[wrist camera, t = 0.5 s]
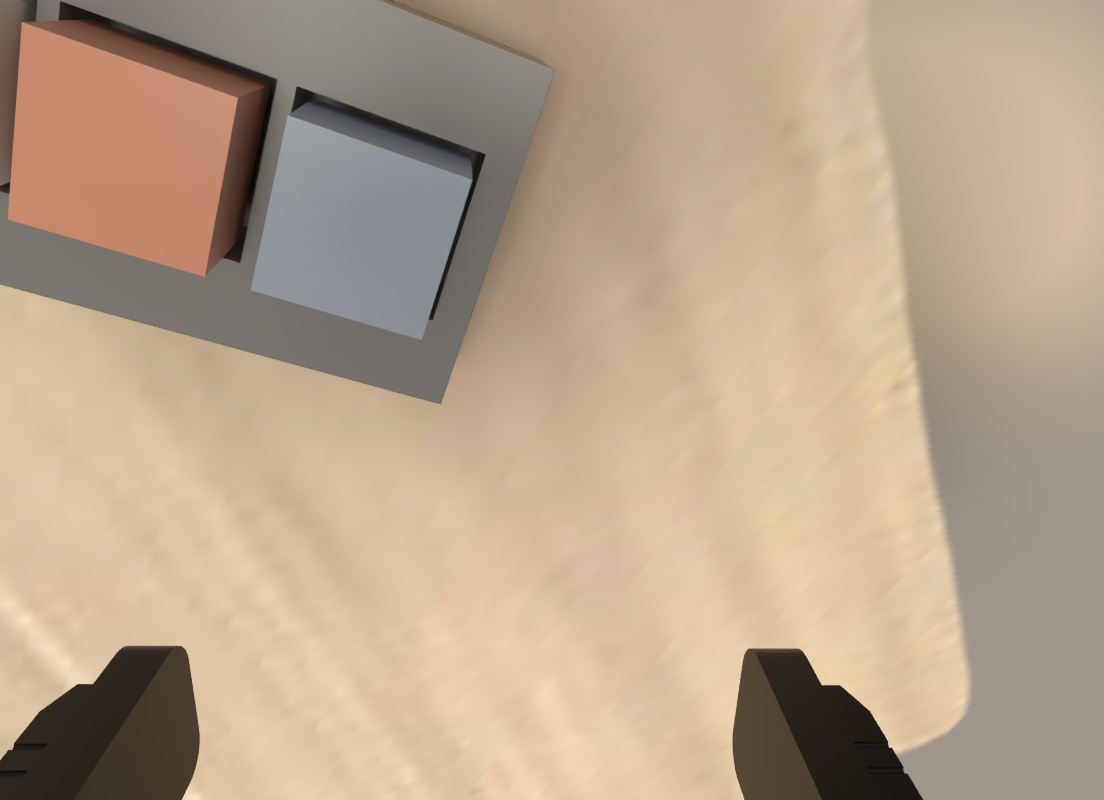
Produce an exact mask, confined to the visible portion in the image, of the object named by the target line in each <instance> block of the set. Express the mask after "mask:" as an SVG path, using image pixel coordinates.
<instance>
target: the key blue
mask: <svg viewBox="0 0 1104 800" xmlns="http://www.w3.org/2000/svg"><path fill="white" fill-rule="evenodd" d="M472 180H473V179H472V165H471V155H469V154H466V153H464V152H461V151H458V150H455V149H452V148H450V147H447V146H444V145H441V144H439V143H436V142H433V141H430V140H427V139H425V138H422V137H419V136H416V135H413V134H411V133H408V132H405V131H402V130H399V129H397V128H394V127H391V126H388V125H385V124H383V123H380V122H377V121H374V120H372V119H369V118H366V117H363V116H360V115H358V114H355V113H352V112H349V111H346V110H344V109H341V108H338V107H335V106H332V105H330V104H327V103H324V102H321V101H319V100H316V99H312V100H310V101H309V102H307V103H306V104H304V105H303V106H301V107H300V108H298V109H297V110H295V111H293V112H292V113H290V114H289V115H288V116H287V121H286V126H285V131H284V135H283V140H282V145H281V149H280V154H279V159H278V164H277V168H276V173H275V178H274V182H273V187H272V192H271V197H270V201H269V206H268V211H267V215H266V220H265V225H264V230H263V234H262V239H261V244H260V248H259V253H258V258H257V263H256V267H255V272H254V277H253V281H252V286H251V290H252V291H255V292H258V293H262V294H265V295H269V296H272V297H276V298H279V299H282V300H286V301H289V302H293V303H296V304H300V305H303V306H306V307H310V308H313V309H317V310H320V311H324V312H327V313H330V314H334V315H337V316H341V317H344V318H348V319H351V320H354V321H358V322H361V323H365V324H368V325H372V326H375V327H378V328H382V329H385V330H389V331H392V332H396V333H399V334H402V335H406V336H409V337H413V338H416V339H420V340H422V338H423V334H424V331H425V328H426V325H427V322H428V319H429V316H430V312H431V309H432V306H433V303H434V300H435V297H436V294H437V290H438V287H439V284H440V281H441V278H442V275H443V271H444V268H445V265H446V262H447V259H448V256H449V253H450V249H451V246H452V243H453V240H454V237H455V234H456V231H457V227H458V224H459V221H460V218H461V215H462V212H463V209H464V205H465V202H466V199H467V196H468V193H469V190H470V187H471V183H472Z"/></svg>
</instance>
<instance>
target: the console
mask: <svg viewBox="0 0 1104 800" xmlns="http://www.w3.org/2000/svg"><path fill="white" fill-rule="evenodd" d="M81 19H93V20H95V21H98V22H101V23H104V24H106V25H109V26H112V27H115V28H118V29H120V30H123V31H126V32H129V33H132V34H134V35H137V36H140V37H143V38H146V39H148V40H151V41H154V42H157V43H159V44H162V45H165V46H168V47H171V48H173V49H176V50H179V51H182V52H185V53H187V54H190V55H193V56H196V57H199V58H201V59H204V60H207V61H210V62H212V63H215V64H218V65H221V66H224V67H226V68H229V69H232V70H235V71H238V72H240V73H243V74H246V75H249V76H252V77H254V78H257V79H260V80H263V81H266V82H268V83H271V87H270V92H269V97H268V102H267V107H266V112H265V117H264V122H263V127H262V132H261V137H260V142H259V147H258V152H257V157H256V162H255V167H254V172H253V177H252V182H251V187H250V192H249V197H248V202H247V207H246V212H245V217H244V222H243V227H242V232H241V237H240V240H239V241H238V242H237V243H236V244H235V245H234V246H233V247H232V248H231V249H230V250H229V251H228V253H227V254H226V255H225V256H224V257H223V258H222V259H221V260H220V261H219V262H218V263H217V264H216V265H215V266H214V268H213V269H212V270H211V271H210V272H209V273H208V274H207V275H206V276H205V277H204V276H200V275H197V274H193V273H190V272H186V271H183V270H180V269H176V268H173V267H169V266H166V265H162V264H159V263H156V262H152V261H149V260H145V259H142V258H138V257H135V256H132V255H128V254H125V253H121V252H118V251H114V250H111V249H108V248H104V247H101V246H97V245H94V244H90V243H87V242H84V241H80V240H77V239H73V238H70V237H66V236H63V235H60V234H56V233H53V232H49V231H46V230H42V229H39V228H36V227H32V226H29V225H25V224H22V223H18V222H15V221H12V220H8V208H9V194H10V182H8V183H6V184H3V185H1V186H0V284H1V285H4V286H8V287H12V288H15V289H19V290H23V291H26V292H30V293H34V294H38V295H41V296H45V297H49V298H52V299H56V300H60V301H63V302H67V303H71V304H74V305H78V306H82V307H85V308H89V309H93V310H96V311H100V312H104V313H107V314H111V315H115V316H118V317H122V318H126V319H129V320H133V321H137V322H140V323H144V324H148V325H151V326H155V327H159V328H162V329H166V330H170V331H173V332H177V333H181V334H184V335H188V336H192V337H195V338H199V339H203V340H206V341H210V342H214V343H217V344H221V345H225V346H228V347H232V348H236V349H239V350H243V351H247V352H250V353H254V354H258V355H261V356H265V357H269V358H273V359H276V360H280V361H284V362H287V363H291V364H295V365H298V366H302V367H306V368H309V369H313V370H317V371H320V372H324V373H328V374H331V375H335V376H339V377H342V378H346V379H350V380H353V381H357V382H361V383H364V384H368V385H372V386H375V387H379V388H383V389H386V390H390V391H394V392H397V393H401V394H405V395H408V396H412V397H416V398H419V399H423V400H427V401H430V402H434V403H438V404H441V402H442V399H443V396H444V393H445V390H446V387H447V385H448V382H449V379H450V376H451V373H452V370H453V367H454V364H455V361H456V358H457V355H458V352H459V349H460V346H461V344H462V341H463V338H464V335H465V332H466V329H467V326H468V323H469V320H470V317H471V314H472V311H473V308H474V305H475V303H476V300H477V297H478V294H479V291H480V288H481V285H482V282H483V279H484V276H485V273H486V270H487V267H488V264H489V262H490V259H491V256H492V253H493V250H494V247H495V244H496V241H497V238H498V235H499V232H500V229H501V226H502V223H503V221H504V218H505V215H506V212H507V209H508V206H509V203H510V200H511V197H512V194H513V191H514V188H515V185H516V183H517V180H518V177H519V174H520V171H521V168H522V165H523V162H524V159H525V156H526V153H527V150H528V147H529V144H530V142H531V139H532V136H533V133H534V130H535V127H536V124H537V121H538V118H539V115H540V112H541V109H542V106H543V103H544V101H545V98H546V95H547V92H548V89H549V86H550V83H551V80H552V77H553V74H554V71H555V70H554V69H552V68H551V67H550V66H548V65H547V64H545V63H544V62H543V61H541V60H539V59H536V58H534V57H531V56H529V55H526V54H524V53H521V52H519V51H516V50H514V49H511V48H509V47H506V46H504V45H501V44H499V43H496V42H494V41H491V40H489V39H486V38H484V37H481V36H479V35H476V34H474V33H471V32H469V31H466V30H464V29H461V28H459V27H456V26H454V25H451V24H449V23H446V22H444V21H441V20H439V19H436V18H434V17H431V16H429V15H426V14H424V13H421V12H419V11H416V10H414V9H411V8H409V7H406V6H404V5H401V4H399V3H396V2H394V1H391V0H37V13H36V21H58V20H81ZM312 99H316V100H319V101H321V102H324V103H327V104H330V105H332V106H335V107H338V108H341V109H344V110H346V111H349V112H352V113H355V114H358V115H360V116H363V117H366V118H369V119H372V120H374V121H377V122H380V123H383V124H385V125H388V126H391V127H394V128H397V129H399V130H402V131H405V132H408V133H411V134H413V135H416V136H419V137H422V138H425V139H427V140H430V141H433V142H436V143H439V144H441V145H444V146H447V147H450V148H452V149H455V150H458V151H461V152H464V153H466V154H469V155H471V165H472V179H473V180H472V183H471V187H470V190H469V193H468V196H467V199H466V202H465V205H464V209H463V212H462V215H461V218H460V221H459V224H458V227H457V231H456V234H455V237H454V240H453V243H452V246H451V249H450V253H449V256H448V259H447V262H446V265H445V268H444V271H443V275H442V278H441V281H440V284H439V287H438V290H437V294H436V297H435V300H434V303H433V306H432V309H431V312H430V316H429V319H428V322H427V325H426V328H425V331H424V334H423V338H422V340H420V339H416V338H413V337H409V336H406V335H402V334H399V333H396V332H392V331H389V330H385V329H382V328H378V327H375V326H372V325H368V324H365V323H361V322H358V321H354V320H351V319H348V318H344V317H341V316H337V315H334V314H330V313H327V312H324V311H320V310H317V309H313V308H310V307H306V306H303V305H300V304H296V303H293V302H289V301H286V300H282V299H279V298H276V297H272V296H269V295H265V294H262V293H258V292H255V291H252V290H251V286H252V281H253V277H254V272H255V267H256V263H257V258H258V253H259V248H260V244H261V239H262V234H263V230H264V225H265V220H266V215H267V211H268V206H269V201H270V197H271V192H272V187H273V182H274V178H275V173H276V168H277V164H278V159H279V154H280V149H281V145H282V140H283V135H284V131H285V126H286V121H287V116H288V115H289V114H290V113H292V112H293V111H295V110H297V109H298V108H300V107H301V106H303V105H304V104H306V103H307V102H309V101H310V100H312Z"/></svg>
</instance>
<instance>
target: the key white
mask: <svg viewBox="0 0 1104 800" xmlns="http://www.w3.org/2000/svg"><path fill="white" fill-rule="evenodd" d="M36 13H37V0H0V186H1V185H3V184H6V183H8V182H10V180H11V167H12V153H13V139H14V125H15V111H16V97H17V83H18V69H19V55H20V41H21V27H22V22H35V21H36Z"/></svg>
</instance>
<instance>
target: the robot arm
mask: <svg viewBox="0 0 1104 800" xmlns="http://www.w3.org/2000/svg"><path fill="white" fill-rule="evenodd" d="M199 742H200V734H199V726H198V719H197V712H196V706H195V699H194V692H193V685H192V678H191V672H190V665H189V659H188V655H187V652H186V650H185V649H184V648H183V647H181V646H125V647H123V648H122V649H120V650H119V651H118V652H117V653H116V655H115V656H114V657H113V659H112V660H111V661H110V663H109V664H108V665H107V667H106V668H105V669H104V670H103V672H102V673H101V674H100V676H99V677H98V678H97V680H96V681H95V682H94V684H77V685H76V686H75V687H73V688H72V689H71V690H69V691H68V692H66V693H65V694H64V695H62V696H61V697H59V698H58V699H57V700H55V701H54V702H52V703H51V704H50V705H48V706H47V707H46V708H44V709H43V710H41V711H40V712H39V713H38V715H37V716H36V717H35V718H34V719H33V721H32V722H31V723H30V724H29V726H28V727H27V728H26V729H25V730H24V732H23V733H22V734H21V735H20V737H19V738H18V739H17V740H16V742H15V743H14V747H13V750H8V751H7V753H6V754H5V755H4V756H3V758H2V759H1V760H0V800H182V798H183V796H184V794H185V792H186V790H187V788H188V786H189V784H190V782H191V779H192V777H193V774H194V771H195V767H196V763H197V759H198V753H199ZM733 757H734V765H735V770H736V774H737V778H738V782H739V785H740V787H741V790H742V793H743V796H744V799H745V800H923V799H922V797H921V795H920V794H919V792H918V790H917V789H916V787H915V785H914V784H913V782H912V781H911V779H910V777H909V776H908V774H905V773H904V771H903V766H902V764H901V762H900V761H899V759H898V757H897V756H896V754H895V752H894V751H893V749H892V748H889V746H888V741H887V739H886V737H885V736H884V734H883V732H882V731H881V729H880V727H879V726H878V724H877V722H876V721H875V719H874V717H873V716H872V714H871V712H870V711H869V710H868V709H867V708H865V707H864V706H863V705H862V704H861V703H860V702H859V701H857V700H856V699H855V698H854V697H853V696H852V695H851V694H849V693H848V692H847V691H846V690H845V689H844V688H842V687H841V686H840V685H821V683H820V681H819V679H818V678H817V676H816V674H815V672H814V670H813V668H812V667H811V665H810V663H809V661H808V659H807V657H806V656H805V654H804V653H803V652H802V650H800V649H748V650H747V651H746V653H745V655H744V659H743V665H742V672H741V679H740V686H739V693H738V700H737V707H736V714H735V721H734V728H733Z"/></svg>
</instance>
